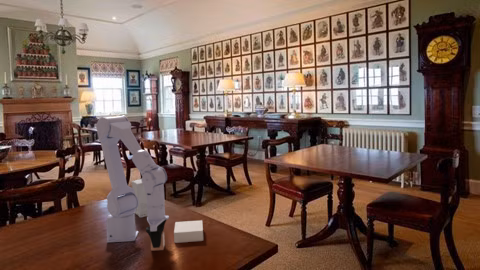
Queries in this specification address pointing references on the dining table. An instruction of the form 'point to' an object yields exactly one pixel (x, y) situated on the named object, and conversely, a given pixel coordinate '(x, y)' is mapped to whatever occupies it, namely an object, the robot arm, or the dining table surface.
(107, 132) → the robot arm
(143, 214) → the skincare box
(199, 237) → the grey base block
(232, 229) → the dining table surface
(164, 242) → the terracotta block
